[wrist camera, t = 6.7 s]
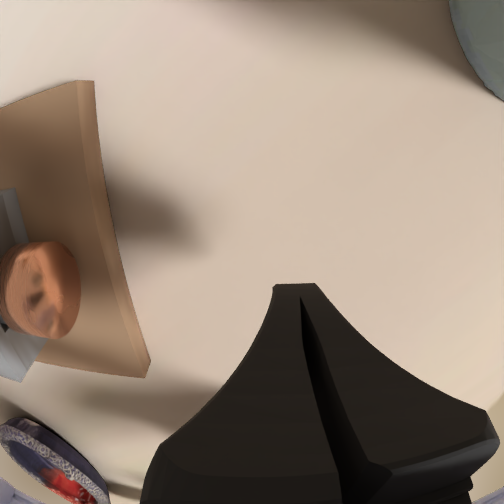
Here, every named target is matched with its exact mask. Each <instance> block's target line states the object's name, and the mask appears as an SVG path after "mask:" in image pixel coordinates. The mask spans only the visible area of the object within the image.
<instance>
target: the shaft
mask: <svg viewBox="0 0 504 504" xmlns="http://www.w3.org/2000/svg"><path fill="white" fill-rule="evenodd" d="M80 302H81V281H80V274H79V270H78V266H77V263H76V260H75V258H74V256H73V254H72V253H71V251H70V250H69V249H68V248H67V247H66V246H65V245H64V244H62V243H60V242H56V241H51V242H32V243H19V244H16V245H14V246H12V247H11V248H10V249H8V250H7V252H6V253H4V254H3V255H2V256H1V257H0V323H3V324H7V325H8V326H9V327H10V328H11V329H12V330H14V331H15V332H17V333H21V334H26V335H32V336H38V337H44V338H50V339H59V338H62V337H64V336H65V335H67V334H68V333H69V332H70V330H71V329H72V327H73V326H74V324H75V322H76V319H77V316H78V313H79V308H80Z"/></svg>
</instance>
